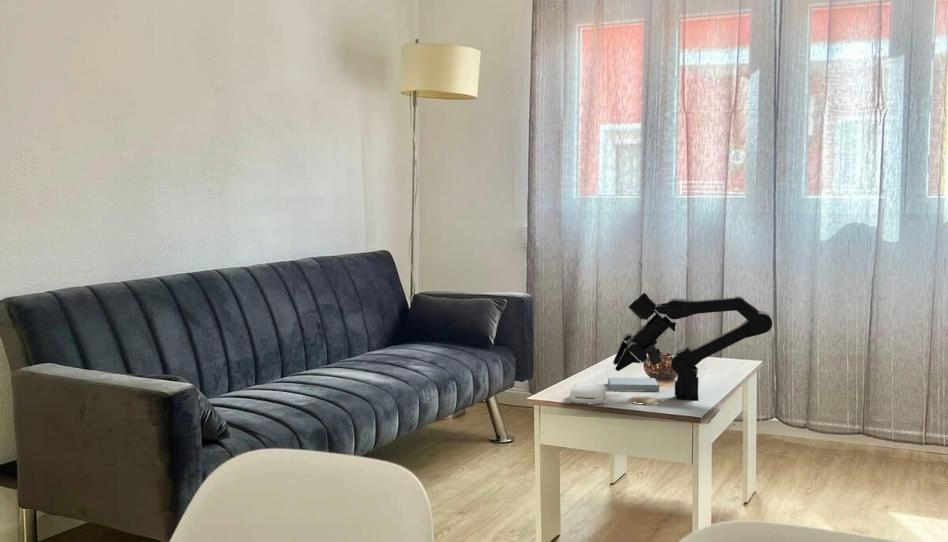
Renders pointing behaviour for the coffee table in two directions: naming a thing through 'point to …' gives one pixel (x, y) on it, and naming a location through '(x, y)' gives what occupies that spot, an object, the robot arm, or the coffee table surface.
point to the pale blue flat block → (633, 384)
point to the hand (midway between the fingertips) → (615, 366)
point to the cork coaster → (645, 400)
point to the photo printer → (588, 393)
